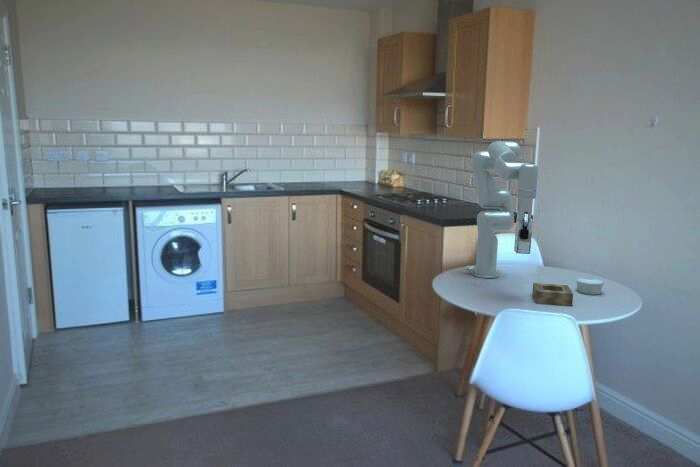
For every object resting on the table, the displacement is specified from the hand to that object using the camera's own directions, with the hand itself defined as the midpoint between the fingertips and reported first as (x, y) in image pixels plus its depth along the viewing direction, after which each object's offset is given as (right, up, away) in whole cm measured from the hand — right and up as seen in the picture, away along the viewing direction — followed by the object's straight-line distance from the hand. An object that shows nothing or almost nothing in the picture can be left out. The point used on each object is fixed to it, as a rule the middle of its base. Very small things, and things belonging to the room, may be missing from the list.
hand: (523, 237), depth 244 cm
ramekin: (+33, -25, +14) cm, 43 cm away
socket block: (+12, -26, 0) cm, 29 cm away
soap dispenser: (0, -7, +1) cm, 7 cm away
